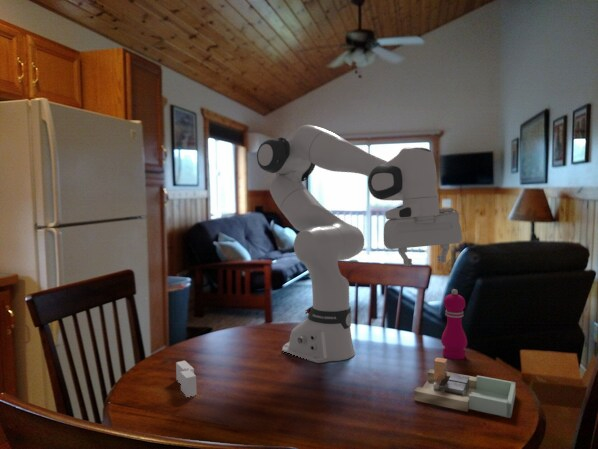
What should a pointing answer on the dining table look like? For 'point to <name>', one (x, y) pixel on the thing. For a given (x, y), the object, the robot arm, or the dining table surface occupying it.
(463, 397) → the slot board
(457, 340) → the pepper mill
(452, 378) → the dark grey block
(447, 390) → the chip
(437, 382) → the block
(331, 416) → the dining table surface
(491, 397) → the tray
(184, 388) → the white stepped block
